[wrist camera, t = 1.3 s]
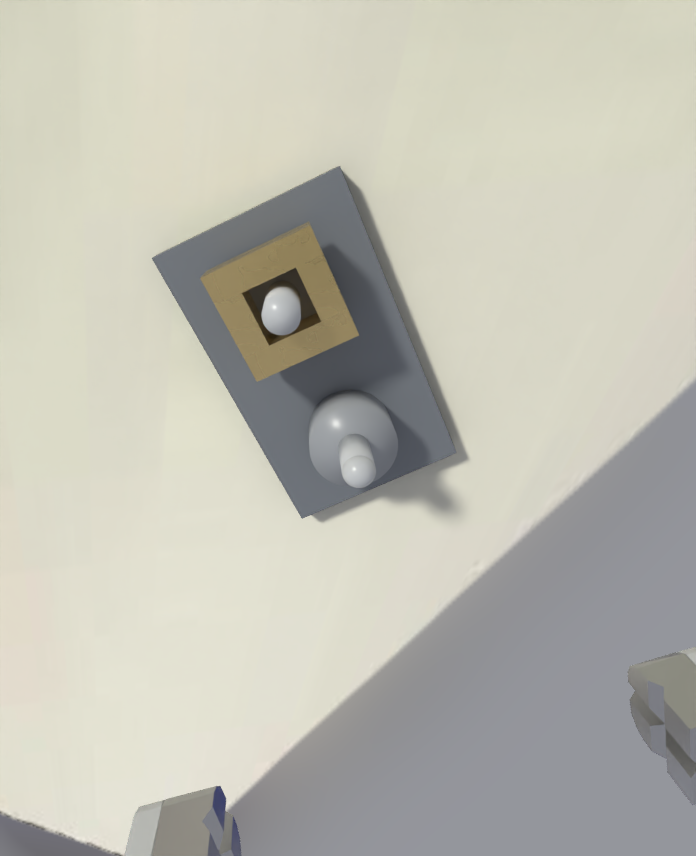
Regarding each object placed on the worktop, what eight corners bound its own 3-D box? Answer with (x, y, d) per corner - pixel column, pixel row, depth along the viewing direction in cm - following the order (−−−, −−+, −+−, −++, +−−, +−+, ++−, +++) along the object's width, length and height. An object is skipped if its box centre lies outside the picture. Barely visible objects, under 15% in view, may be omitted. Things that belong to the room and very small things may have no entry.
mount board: (338, 166, 34) (350, 165, 26) (451, 443, 42) (486, 505, 34) (157, 254, 35) (118, 278, 27) (301, 507, 43) (303, 581, 35)
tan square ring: (309, 221, 32) (310, 225, 30) (355, 324, 35) (359, 335, 32) (206, 270, 33) (200, 278, 30) (259, 368, 35) (256, 381, 33)
